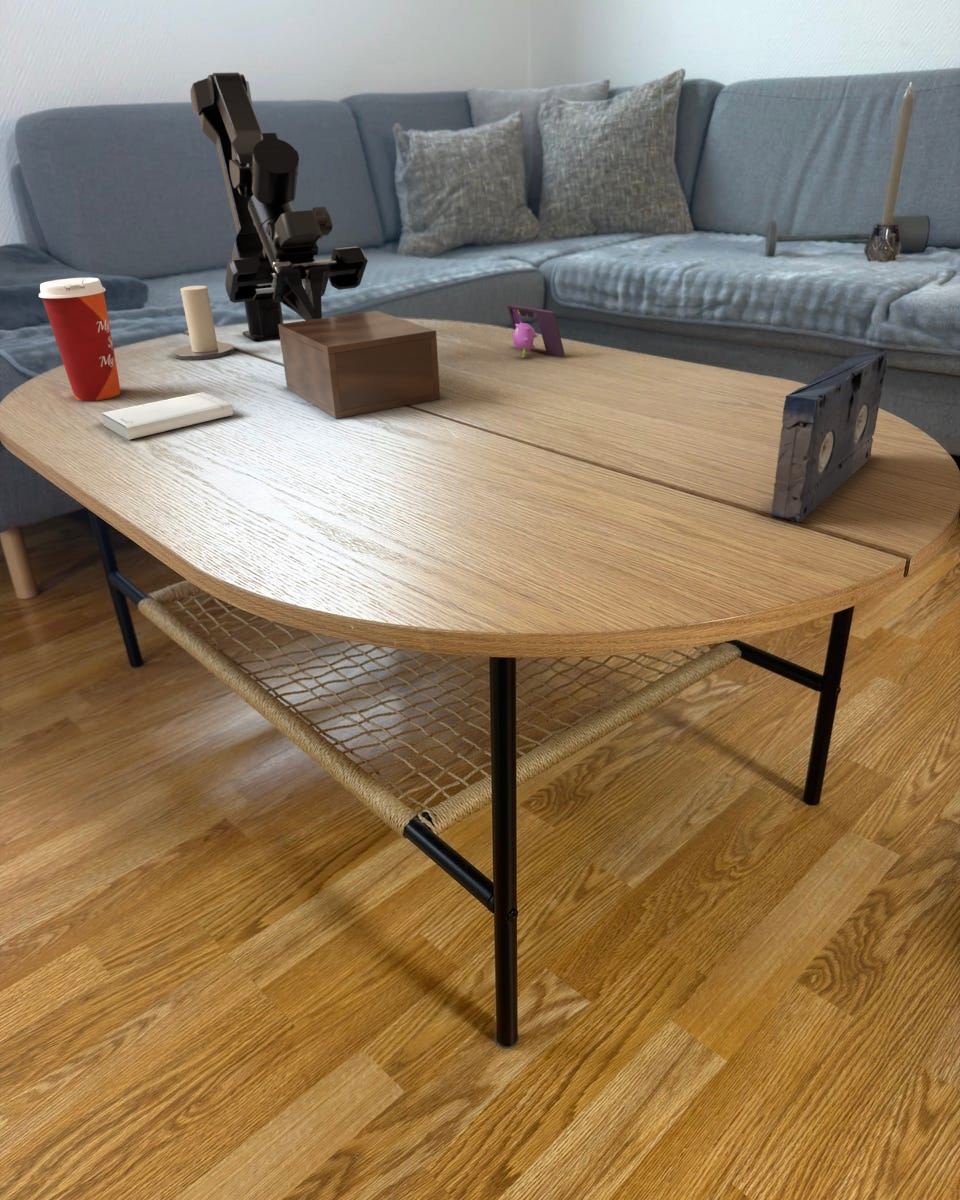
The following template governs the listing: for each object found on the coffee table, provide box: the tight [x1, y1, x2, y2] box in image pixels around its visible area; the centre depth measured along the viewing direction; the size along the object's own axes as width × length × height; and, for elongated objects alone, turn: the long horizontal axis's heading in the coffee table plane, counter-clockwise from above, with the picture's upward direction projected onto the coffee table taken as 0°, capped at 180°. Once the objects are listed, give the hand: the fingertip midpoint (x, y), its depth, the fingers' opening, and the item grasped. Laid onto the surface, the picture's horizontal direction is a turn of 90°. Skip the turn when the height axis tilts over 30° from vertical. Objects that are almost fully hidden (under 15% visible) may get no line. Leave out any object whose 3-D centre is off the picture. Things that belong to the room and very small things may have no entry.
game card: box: [507, 304, 566, 359], centre depth 122 cm, size 7×5×9 cm
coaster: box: [172, 342, 235, 361], centre depth 133 cm, size 9×9×1 cm
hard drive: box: [100, 391, 234, 441], centre depth 101 cm, size 2×8×12 cm
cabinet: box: [278, 310, 441, 420], centre depth 107 cm, size 17×14×8 cm
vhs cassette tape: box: [770, 349, 888, 523], centre depth 74 cm, size 18×3×10 cm, turn 140°
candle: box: [180, 285, 218, 353], centre depth 130 cm, size 4×4×9 cm
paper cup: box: [38, 277, 121, 402], centre depth 109 cm, size 8×8×14 cm
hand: (318, 326), depth 115 cm, fingers closed
